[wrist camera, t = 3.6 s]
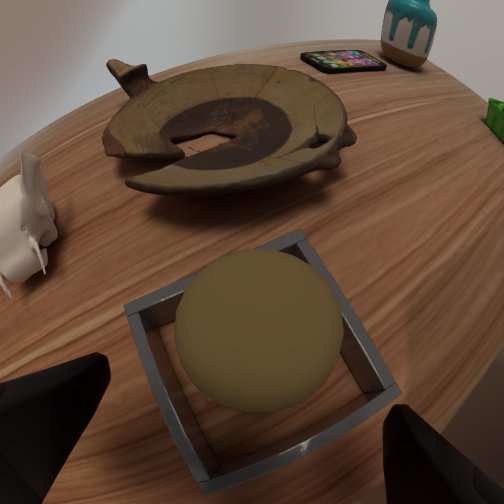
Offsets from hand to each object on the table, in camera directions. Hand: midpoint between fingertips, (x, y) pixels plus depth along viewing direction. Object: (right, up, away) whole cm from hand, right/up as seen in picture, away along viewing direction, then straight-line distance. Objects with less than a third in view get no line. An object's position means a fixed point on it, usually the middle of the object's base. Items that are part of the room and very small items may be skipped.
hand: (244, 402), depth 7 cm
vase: (+31, +43, +35) cm, 63 cm away
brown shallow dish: (-4, +17, +21) cm, 28 cm away
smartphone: (+16, +37, +32) cm, 51 cm away
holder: (+1, -3, +9) cm, 10 cm away
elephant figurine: (-20, +5, +14) cm, 25 cm away
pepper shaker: (+1, -3, +9) cm, 10 cm away
